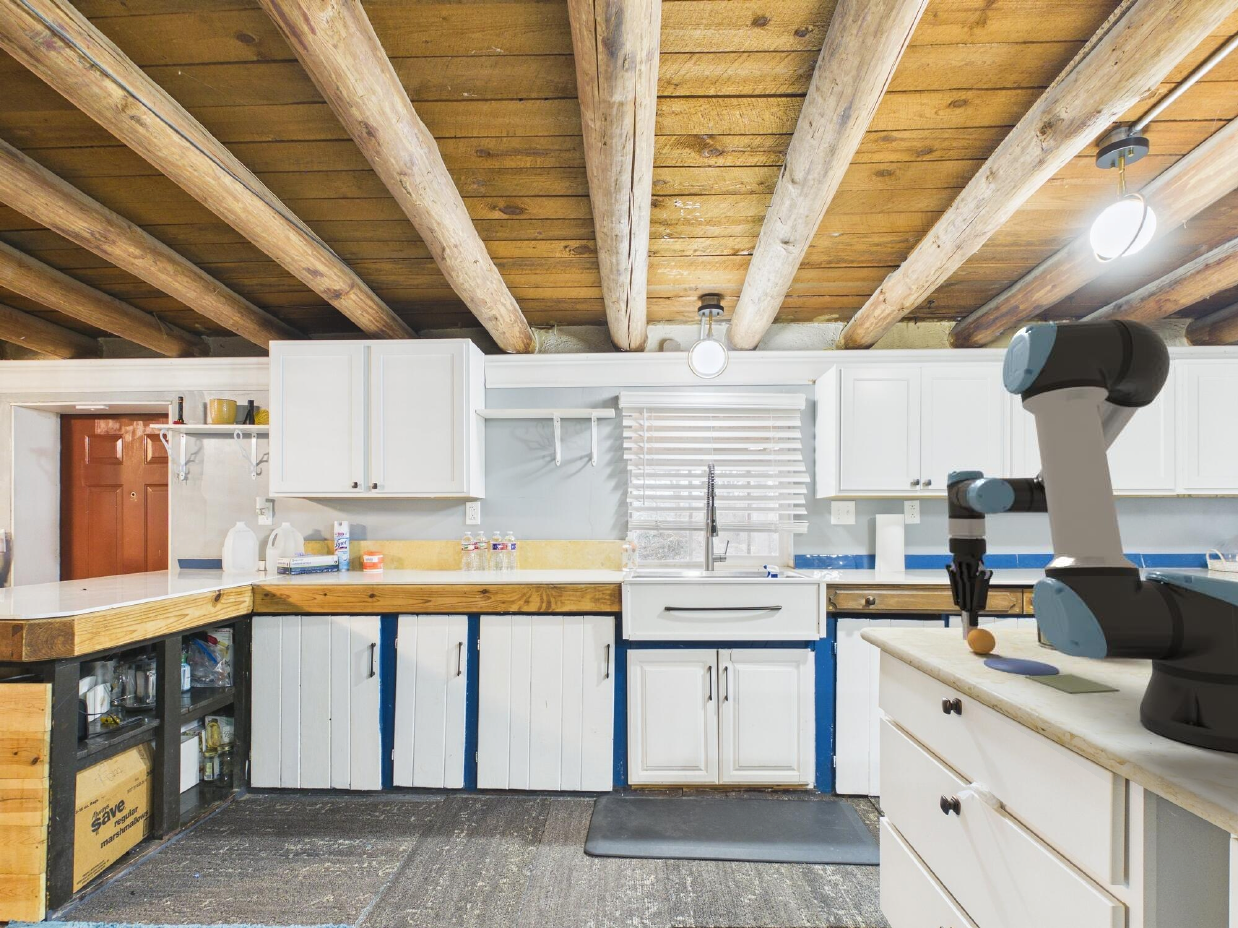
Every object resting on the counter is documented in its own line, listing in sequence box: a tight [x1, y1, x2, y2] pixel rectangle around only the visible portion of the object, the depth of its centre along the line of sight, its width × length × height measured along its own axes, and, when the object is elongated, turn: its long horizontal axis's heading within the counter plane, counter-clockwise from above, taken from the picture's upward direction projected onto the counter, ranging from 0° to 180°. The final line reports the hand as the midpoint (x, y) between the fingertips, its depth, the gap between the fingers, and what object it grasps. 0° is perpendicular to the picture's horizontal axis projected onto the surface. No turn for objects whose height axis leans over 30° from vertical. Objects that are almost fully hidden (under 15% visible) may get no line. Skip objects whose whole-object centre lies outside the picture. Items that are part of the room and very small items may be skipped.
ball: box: [966, 628, 997, 655], centre depth 137 cm, size 6×6×6 cm
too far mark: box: [1024, 673, 1121, 694], centre depth 114 cm, size 10×10×1 cm
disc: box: [983, 657, 1060, 676], centre depth 126 cm, size 13×13×1 cm
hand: (970, 639), depth 140 cm, fingers closed
